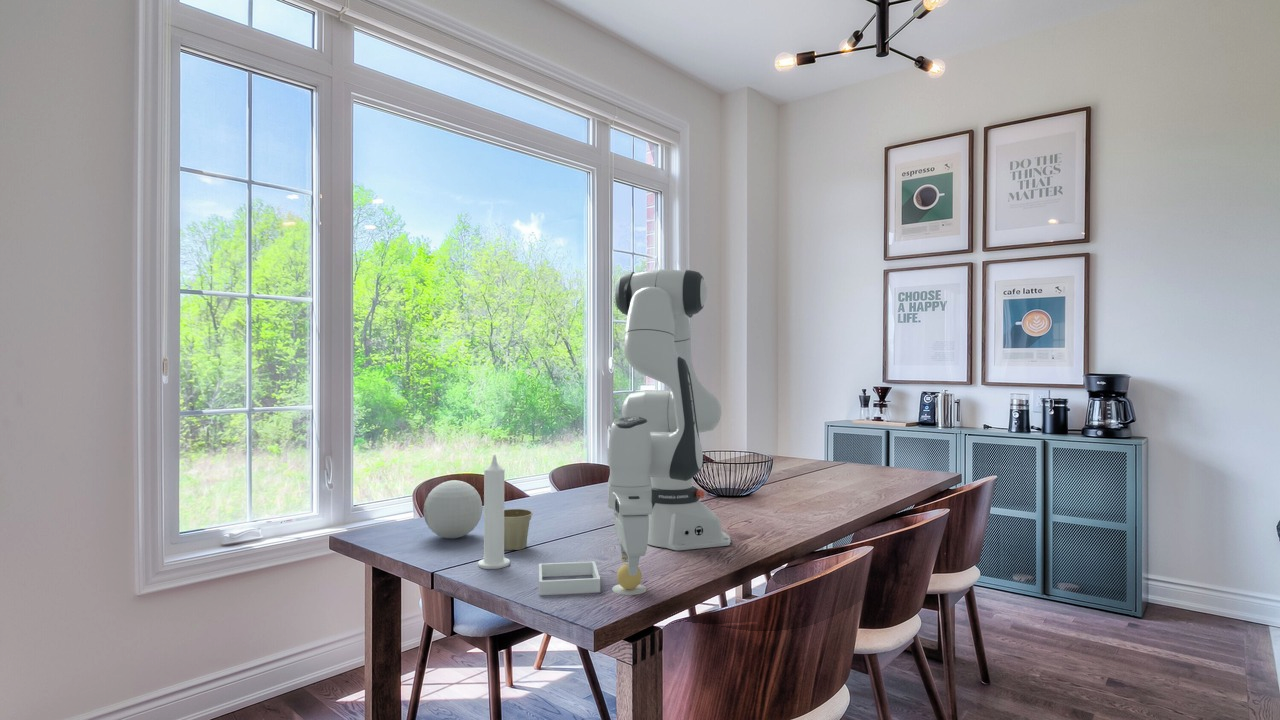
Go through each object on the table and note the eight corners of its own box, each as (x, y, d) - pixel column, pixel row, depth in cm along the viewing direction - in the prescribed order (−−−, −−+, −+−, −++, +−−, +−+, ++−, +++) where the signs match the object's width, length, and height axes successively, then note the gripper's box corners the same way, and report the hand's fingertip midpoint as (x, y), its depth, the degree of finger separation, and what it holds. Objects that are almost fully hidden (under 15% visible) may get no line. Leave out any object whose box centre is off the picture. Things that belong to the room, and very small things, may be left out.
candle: (480, 560, 155) (481, 452, 155) (511, 559, 156) (511, 452, 156) (475, 569, 148) (476, 457, 148) (507, 569, 148) (508, 456, 149)
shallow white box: (594, 575, 144) (594, 561, 144) (600, 593, 132) (600, 578, 132) (538, 577, 142) (538, 563, 142) (539, 597, 131) (539, 581, 131)
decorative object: (443, 529, 185) (444, 474, 185) (492, 532, 181) (492, 477, 181) (411, 542, 170) (411, 484, 170) (463, 547, 166) (463, 487, 166)
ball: (639, 584, 137) (639, 559, 137) (643, 592, 132) (643, 567, 132) (615, 585, 136) (615, 560, 137) (618, 593, 132) (618, 568, 132)
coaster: (643, 584, 138) (643, 582, 138) (649, 595, 132) (649, 593, 132) (610, 585, 137) (610, 583, 137) (614, 597, 130) (614, 595, 130)
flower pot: (524, 553, 161) (524, 518, 161) (487, 551, 162) (488, 516, 163) (538, 543, 170) (538, 509, 170) (503, 541, 172) (503, 508, 172)
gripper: (608, 490, 144) (607, 554, 144) (620, 508, 124) (620, 583, 123) (637, 489, 145) (636, 553, 145) (654, 507, 125) (653, 581, 124)
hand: (629, 567), depth 134 cm, fingers open, 8 cm apart
